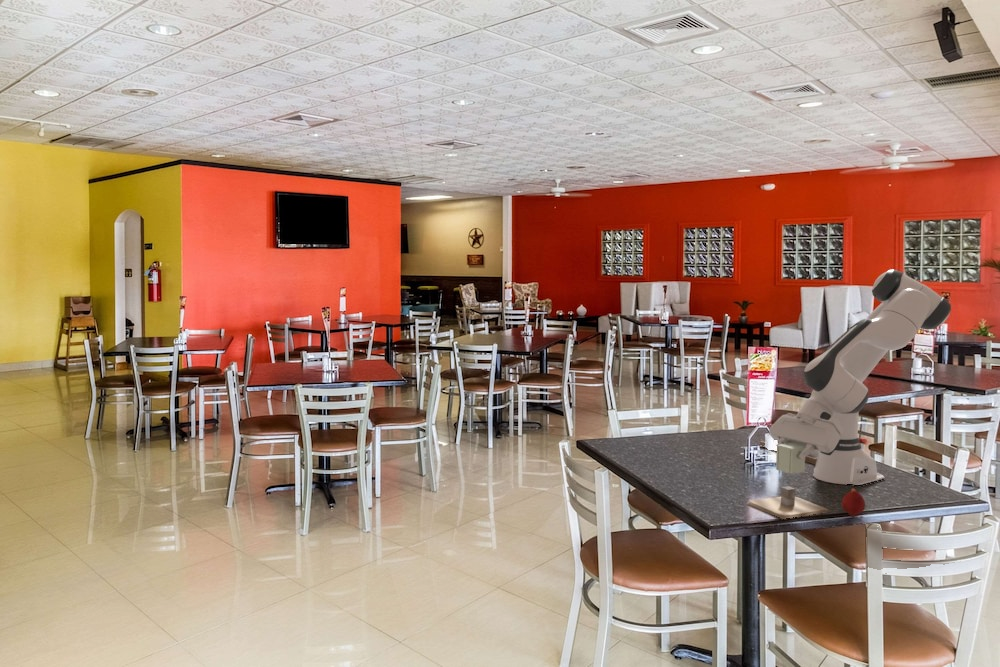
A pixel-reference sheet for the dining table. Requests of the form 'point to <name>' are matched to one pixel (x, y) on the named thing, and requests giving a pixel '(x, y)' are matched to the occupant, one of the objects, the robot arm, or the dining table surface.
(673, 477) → the dining table surface
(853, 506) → the onion
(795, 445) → the slotted sage cube
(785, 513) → the post board
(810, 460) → the tube rack
